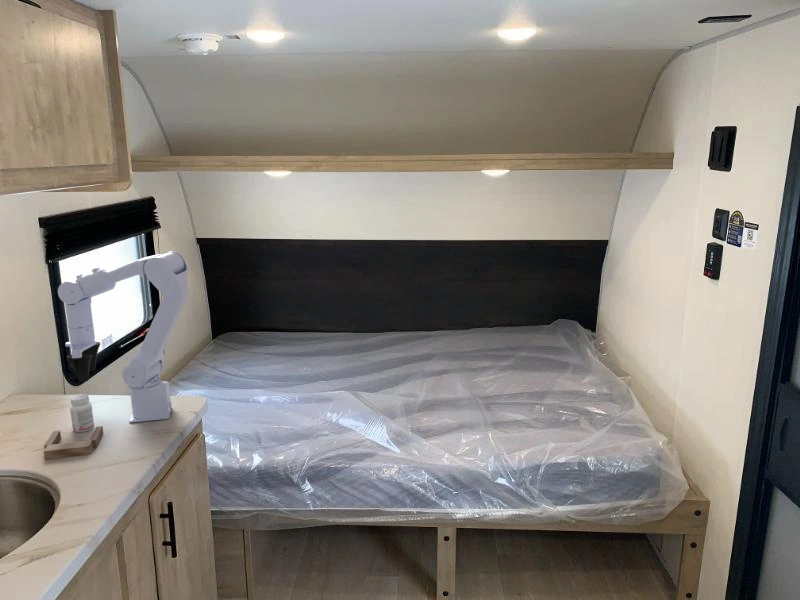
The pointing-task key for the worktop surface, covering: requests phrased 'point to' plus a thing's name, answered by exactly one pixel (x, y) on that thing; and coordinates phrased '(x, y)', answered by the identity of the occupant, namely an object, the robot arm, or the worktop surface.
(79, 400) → the pill bottle
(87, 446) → the notched board
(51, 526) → the worktop surface
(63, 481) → the worktop surface
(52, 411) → the worktop surface
